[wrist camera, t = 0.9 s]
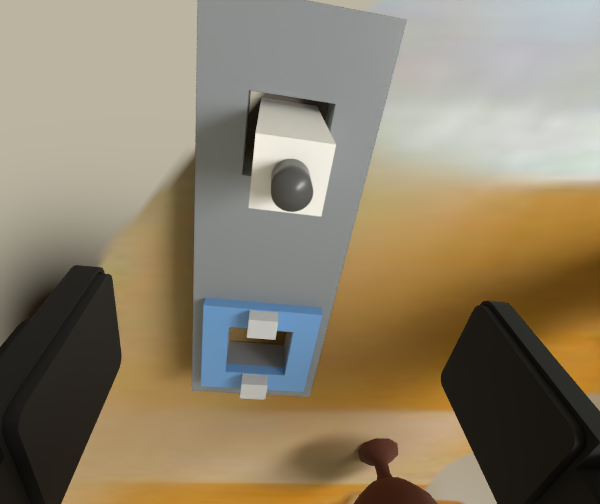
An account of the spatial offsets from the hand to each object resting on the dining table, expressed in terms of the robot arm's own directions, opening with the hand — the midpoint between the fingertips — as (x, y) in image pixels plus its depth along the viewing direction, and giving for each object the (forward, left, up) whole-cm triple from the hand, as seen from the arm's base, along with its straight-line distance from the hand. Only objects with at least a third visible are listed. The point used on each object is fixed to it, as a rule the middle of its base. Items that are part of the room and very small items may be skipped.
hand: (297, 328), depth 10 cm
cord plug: (0, 0, -21) cm, 21 cm away
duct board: (0, +9, -21) cm, 23 cm away
